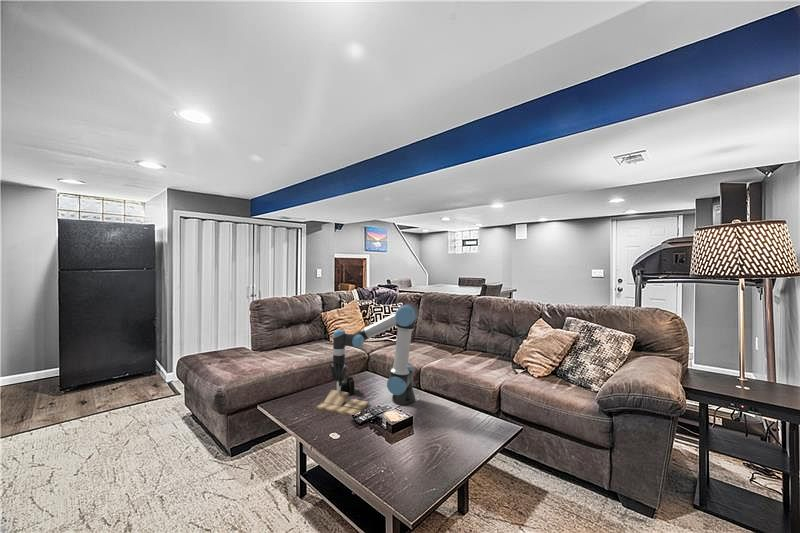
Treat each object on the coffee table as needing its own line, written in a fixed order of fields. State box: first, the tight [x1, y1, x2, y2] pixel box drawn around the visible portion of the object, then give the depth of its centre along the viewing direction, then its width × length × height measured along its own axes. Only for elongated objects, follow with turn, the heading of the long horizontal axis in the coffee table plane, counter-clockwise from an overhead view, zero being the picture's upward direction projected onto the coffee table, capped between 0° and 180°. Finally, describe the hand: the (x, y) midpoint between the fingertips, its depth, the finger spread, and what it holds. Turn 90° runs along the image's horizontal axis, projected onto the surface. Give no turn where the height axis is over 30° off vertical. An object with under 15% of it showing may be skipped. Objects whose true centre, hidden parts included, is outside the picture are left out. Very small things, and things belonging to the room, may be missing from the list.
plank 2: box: [343, 398, 370, 411], centre depth 209 cm, size 13×10×1 cm
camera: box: [340, 374, 355, 395], centre depth 232 cm, size 14×11×10 cm
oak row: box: [316, 401, 363, 417], centre depth 203 cm, size 28×6×2 cm, turn 68°
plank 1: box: [323, 389, 350, 406], centre depth 213 cm, size 13×10×1 cm
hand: (338, 390), depth 216 cm, fingers closed
